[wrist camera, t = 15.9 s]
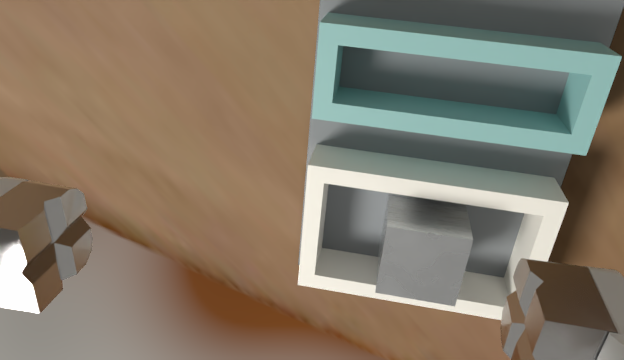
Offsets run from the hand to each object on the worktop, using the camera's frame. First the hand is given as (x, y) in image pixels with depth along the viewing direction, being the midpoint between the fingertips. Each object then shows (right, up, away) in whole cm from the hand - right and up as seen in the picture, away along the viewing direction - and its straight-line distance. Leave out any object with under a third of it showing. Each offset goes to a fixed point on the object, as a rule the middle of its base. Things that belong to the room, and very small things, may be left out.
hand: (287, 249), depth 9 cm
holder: (+8, +4, +21) cm, 23 cm away
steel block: (+7, -1, +23) cm, 24 cm away
